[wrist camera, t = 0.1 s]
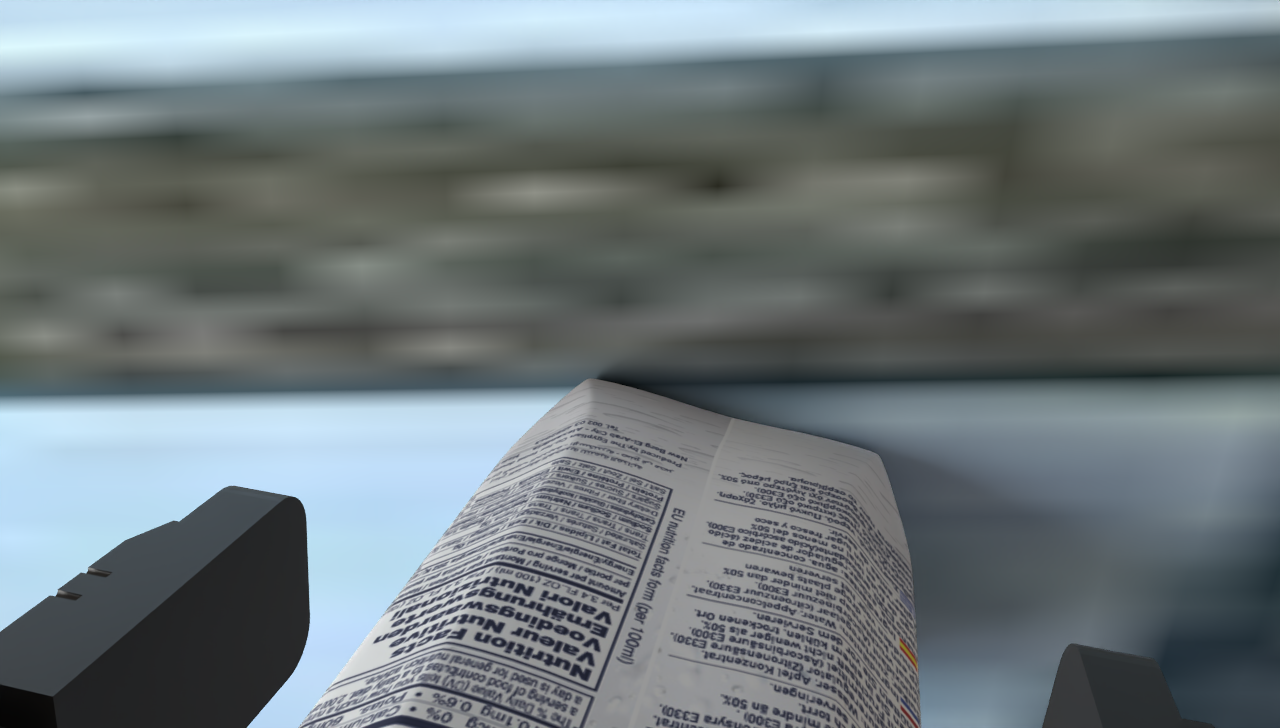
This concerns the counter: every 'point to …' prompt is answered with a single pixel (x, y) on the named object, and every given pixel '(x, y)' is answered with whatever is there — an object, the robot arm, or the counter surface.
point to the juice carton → (652, 585)
